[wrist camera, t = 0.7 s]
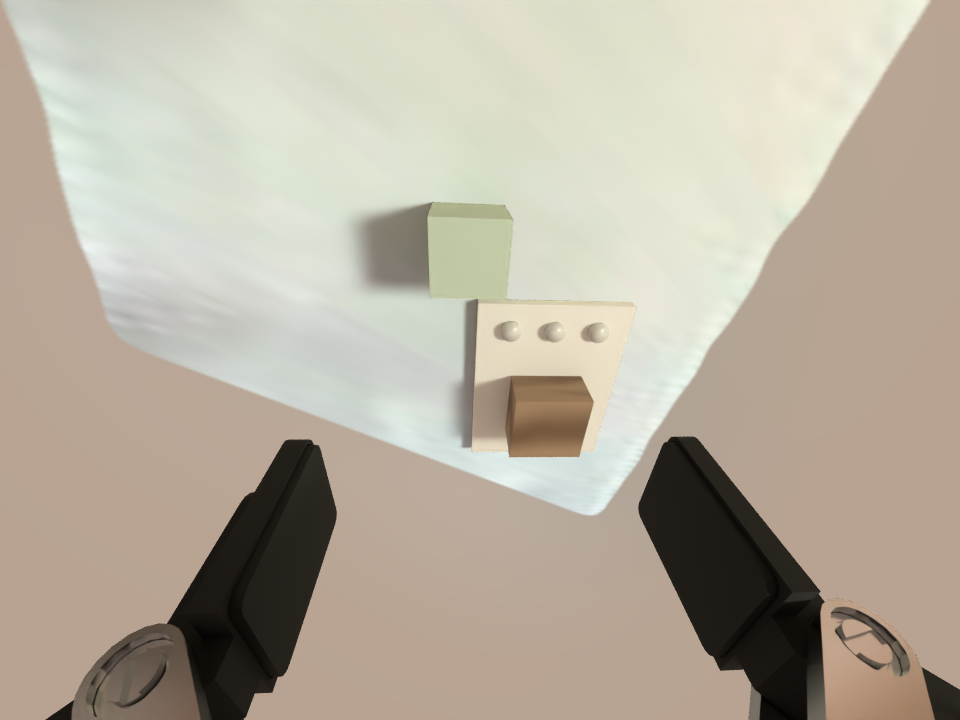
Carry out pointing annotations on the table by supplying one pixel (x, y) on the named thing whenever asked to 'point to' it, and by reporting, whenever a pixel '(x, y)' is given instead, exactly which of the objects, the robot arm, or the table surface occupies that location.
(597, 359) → the snap baseplate
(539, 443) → the walnut block
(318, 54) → the table surface
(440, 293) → the sage block
